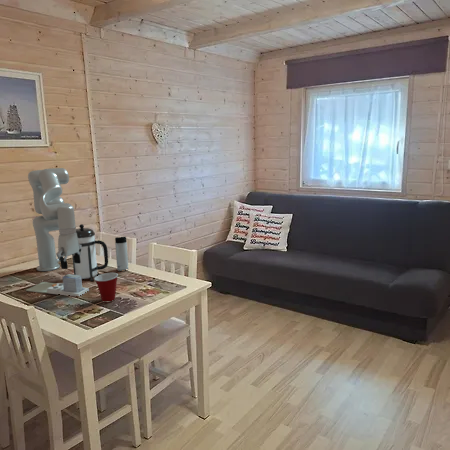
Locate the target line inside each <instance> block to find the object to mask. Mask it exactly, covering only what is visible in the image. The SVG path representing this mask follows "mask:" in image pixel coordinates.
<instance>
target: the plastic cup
mask: <svg viewBox="0 0 450 450" xmlns="http://www.w3.org/2000/svg"><path fill="white" fill-rule="evenodd" d="M118 276H119V274H118V273H116V272H107V273H102V274H99V275H98V276H97V275H95V276H94V277H93V278H94V282H96V285H97V289H98V292H99V295H100V299H101V301H102V302H103V301H112V300H114V299H115V298H116V292H117V281H118ZM115 300H116V299H115ZM115 300H114V301H115ZM112 302H113V301H112Z"/></svg>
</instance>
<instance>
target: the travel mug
mask: <svg viewBox="0 0 450 450" xmlns="http://www.w3.org/2000/svg"><path fill="white" fill-rule="evenodd" d="M114 245H115V256H116V259H115V260H116V269H117V270H118V271H117V272H120V271H122V270H126V269H128V270H129V258H128V242H127V236H120V237H118V236H117V237H115V239H114Z"/></svg>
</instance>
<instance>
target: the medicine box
mask: <svg viewBox="0 0 450 450" xmlns="http://www.w3.org/2000/svg"><path fill="white" fill-rule="evenodd" d="M82 280H83V279H81V276H80V275H74V274H69V273H68V274H65V275H63V276H62V283H63V287H64V291H65V292H74V293H79V292H81V291H82V290H83V289H82V287H83V283H82V282H83V281H82Z"/></svg>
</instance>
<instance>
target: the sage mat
mask: <svg viewBox="0 0 450 450" xmlns="http://www.w3.org/2000/svg"><path fill="white" fill-rule="evenodd" d="M57 283H58V282H57ZM57 283H55V282H49V281H48V282H47V281H42V282H40V283H38V284H35V285H33V286H31V287H29V288H26V289H25V291H26V292H31V293H32V292H34V293H42V294H48V293H47V288H49V287H51V286H52V285H53V284H57Z"/></svg>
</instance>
